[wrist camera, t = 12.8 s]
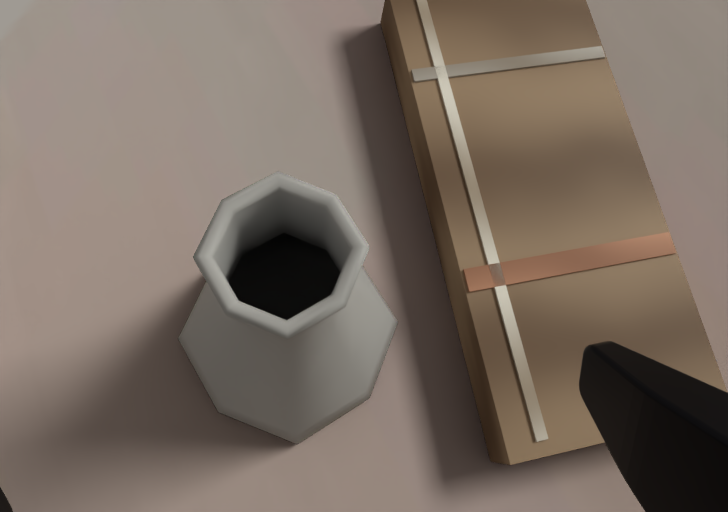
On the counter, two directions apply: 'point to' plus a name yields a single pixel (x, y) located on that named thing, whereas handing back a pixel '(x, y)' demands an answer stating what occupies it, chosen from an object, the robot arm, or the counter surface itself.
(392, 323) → the flask
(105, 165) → the counter surface
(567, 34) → the walnut board
